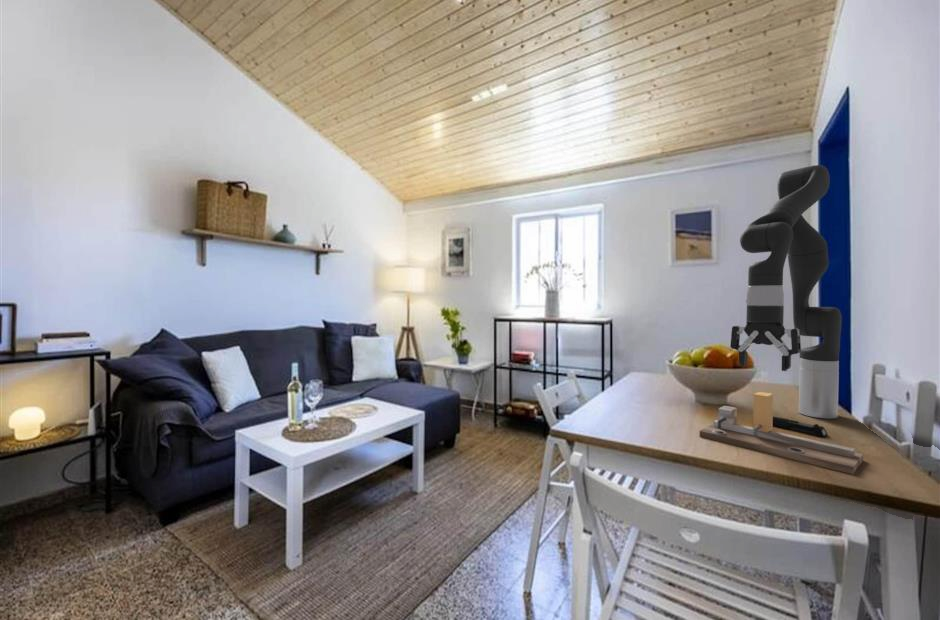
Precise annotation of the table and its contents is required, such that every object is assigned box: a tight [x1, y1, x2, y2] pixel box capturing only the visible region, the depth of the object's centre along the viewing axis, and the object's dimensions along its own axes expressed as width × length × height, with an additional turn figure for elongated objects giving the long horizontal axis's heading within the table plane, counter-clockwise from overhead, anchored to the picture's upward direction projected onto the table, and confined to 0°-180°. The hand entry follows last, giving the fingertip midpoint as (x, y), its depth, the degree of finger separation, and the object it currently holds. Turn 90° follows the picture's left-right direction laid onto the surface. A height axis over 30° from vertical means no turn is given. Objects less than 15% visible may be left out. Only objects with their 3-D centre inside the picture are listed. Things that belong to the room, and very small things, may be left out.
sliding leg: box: [752, 391, 774, 437], centre depth 102 cm, size 8×3×10 cm, turn 129°
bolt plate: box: [699, 405, 864, 475], centre depth 100 cm, size 11×30×7 cm, turn 39°
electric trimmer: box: [773, 415, 828, 439], centre depth 113 cm, size 4×15×3 cm, turn 33°
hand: (763, 368), depth 103 cm, fingers open, 8 cm apart
